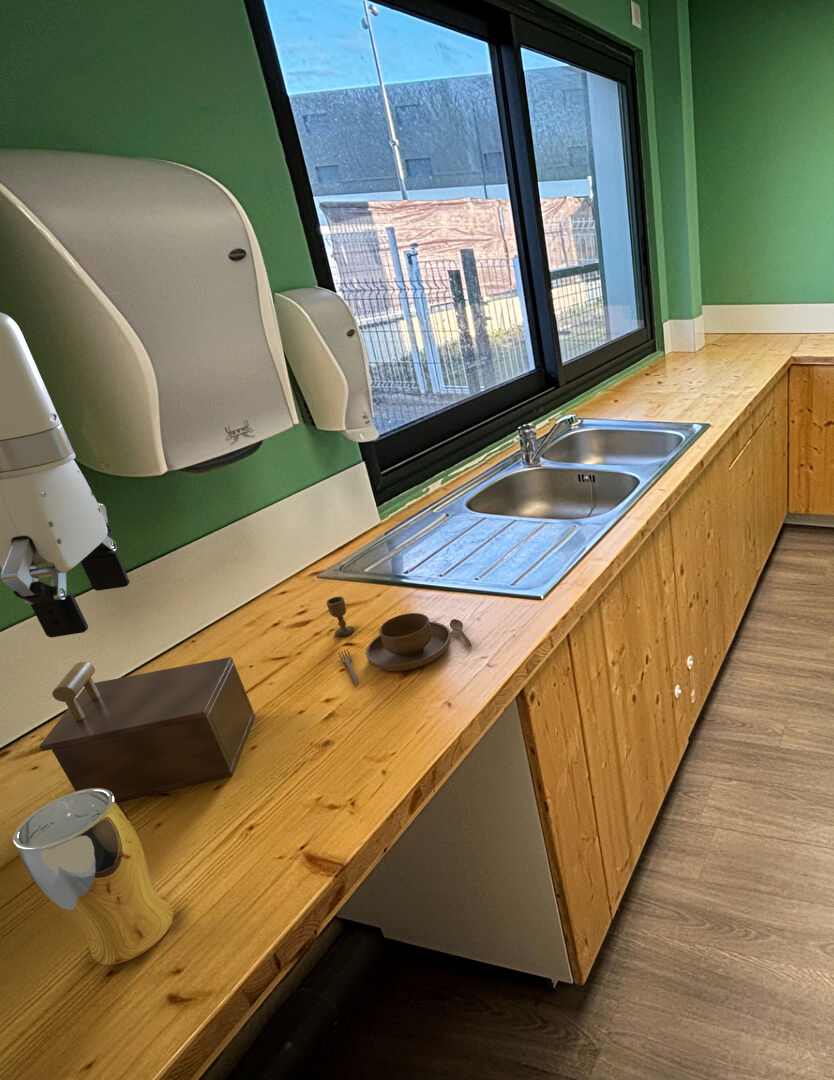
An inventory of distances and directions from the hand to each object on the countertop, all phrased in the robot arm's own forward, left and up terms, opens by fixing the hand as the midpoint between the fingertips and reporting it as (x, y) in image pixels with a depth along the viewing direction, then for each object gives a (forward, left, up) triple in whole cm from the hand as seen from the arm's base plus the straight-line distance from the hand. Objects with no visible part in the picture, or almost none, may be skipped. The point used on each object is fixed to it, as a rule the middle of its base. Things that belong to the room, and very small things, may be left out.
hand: (92, 609), depth 72 cm
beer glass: (+3, -21, -24) cm, 32 cm away
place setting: (+24, +23, -24) cm, 41 cm away
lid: (-2, +5, -15) cm, 16 cm away
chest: (-1, +5, -24) cm, 24 cm away
